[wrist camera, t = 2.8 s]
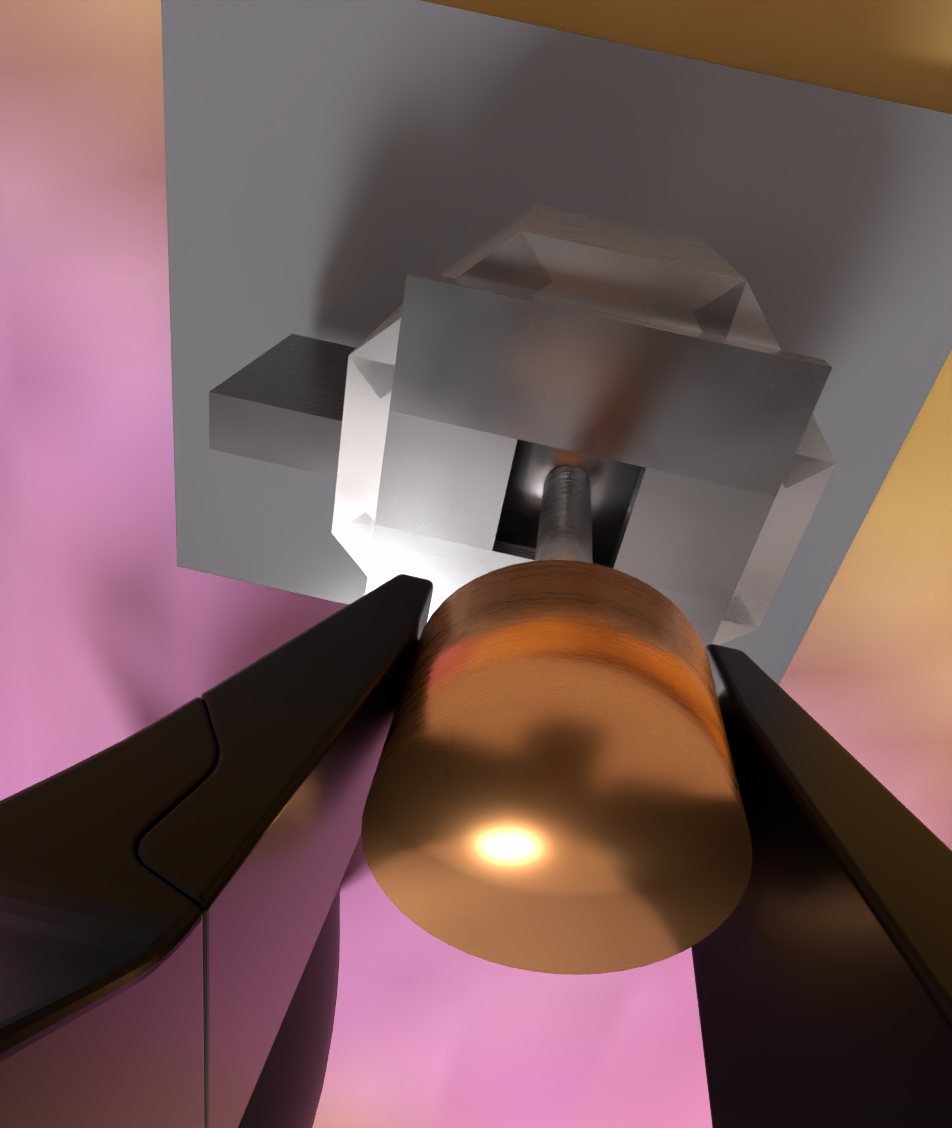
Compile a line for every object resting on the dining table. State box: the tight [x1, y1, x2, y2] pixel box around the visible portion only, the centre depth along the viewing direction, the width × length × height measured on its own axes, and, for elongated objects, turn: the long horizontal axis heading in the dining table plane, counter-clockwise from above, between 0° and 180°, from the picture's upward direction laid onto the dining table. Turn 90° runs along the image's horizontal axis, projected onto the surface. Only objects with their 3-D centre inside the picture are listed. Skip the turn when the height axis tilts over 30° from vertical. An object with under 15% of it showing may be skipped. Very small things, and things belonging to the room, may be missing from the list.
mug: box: [238, 883, 341, 1128], centre depth 22 cm, size 8×12×10 cm
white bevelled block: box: [209, 202, 837, 647], centre depth 14 cm, size 10×8×5 cm
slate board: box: [161, 0, 952, 685], centre depth 17 cm, size 16×13×1 cm
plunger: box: [361, 439, 752, 975], centre depth 10 cm, size 5×5×8 cm
